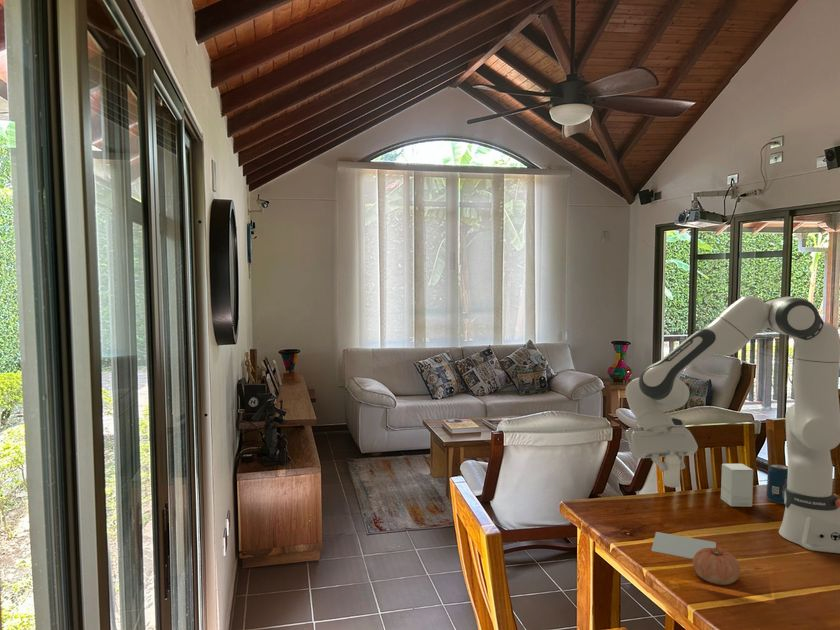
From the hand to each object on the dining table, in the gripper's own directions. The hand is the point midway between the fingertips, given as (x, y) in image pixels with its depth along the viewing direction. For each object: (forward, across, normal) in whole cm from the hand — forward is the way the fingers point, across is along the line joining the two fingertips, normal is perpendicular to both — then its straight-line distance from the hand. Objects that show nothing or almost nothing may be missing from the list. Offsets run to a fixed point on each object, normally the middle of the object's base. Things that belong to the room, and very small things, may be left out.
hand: (673, 468), depth 173 cm
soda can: (0, +56, +31) cm, 64 cm away
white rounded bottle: (+3, 0, +4) cm, 5 cm away
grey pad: (+19, 0, +11) cm, 22 cm away
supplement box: (-1, +40, +31) cm, 51 cm away
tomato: (+31, -3, -1) cm, 31 cm away
